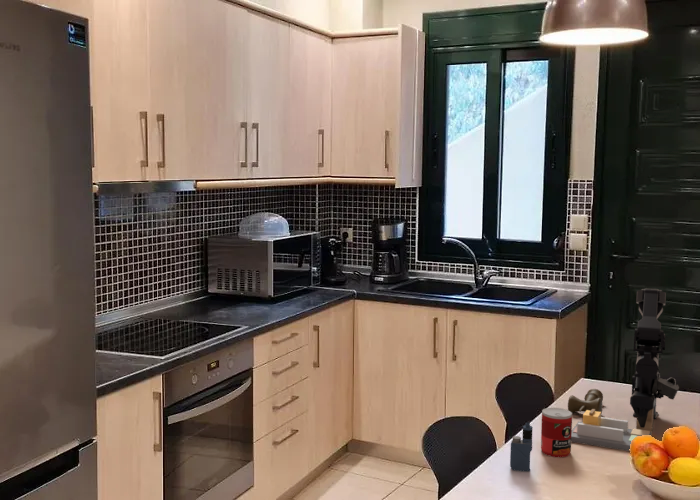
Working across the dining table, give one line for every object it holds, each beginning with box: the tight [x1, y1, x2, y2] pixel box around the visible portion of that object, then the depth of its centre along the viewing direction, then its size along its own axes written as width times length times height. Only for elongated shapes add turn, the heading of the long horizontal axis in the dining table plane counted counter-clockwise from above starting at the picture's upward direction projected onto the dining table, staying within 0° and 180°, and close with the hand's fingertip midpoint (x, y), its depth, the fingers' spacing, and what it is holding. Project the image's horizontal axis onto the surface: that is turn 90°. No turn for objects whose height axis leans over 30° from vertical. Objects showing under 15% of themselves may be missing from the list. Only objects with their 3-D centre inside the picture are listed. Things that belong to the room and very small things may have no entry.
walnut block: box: [635, 408, 654, 433], centre depth 229 cm, size 4×4×7 cm
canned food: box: [540, 407, 573, 458], centre depth 211 cm, size 8×8×11 cm
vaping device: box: [509, 422, 533, 472], centre depth 199 cm, size 3×5×12 cm, turn 78°
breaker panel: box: [571, 416, 652, 452], centre depth 222 cm, size 14×20×4 cm
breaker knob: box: [582, 409, 602, 426], centre depth 224 cm, size 5×4×6 cm
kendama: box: [567, 388, 604, 415], centre depth 246 cm, size 6×10×20 cm
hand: (644, 422), depth 229 cm, fingers open, 9 cm apart
